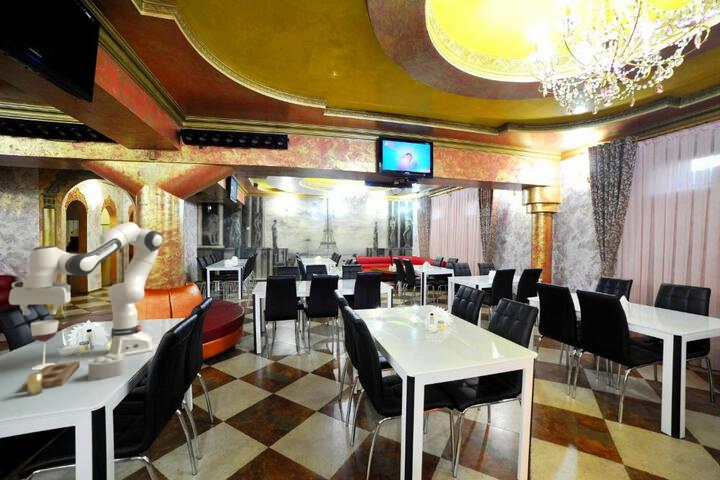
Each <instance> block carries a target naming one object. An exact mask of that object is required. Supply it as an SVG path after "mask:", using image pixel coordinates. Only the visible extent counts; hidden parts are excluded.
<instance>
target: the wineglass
mask: <svg viewBox="0 0 720 480" xmlns="http://www.w3.org/2000/svg"><path fill="white" fill-rule="evenodd" d="M58 327H59V320H58V319H48V320H40V321H35V322H31V323H30V331H31V335H32V339H34V340H35V341H39V342H42V363H40V364H37V365H35V366H33V367H31V370H33V371H36V370H37V371H38V370H42V369H43V368H44V367H45V366H49V365H56V363H55V362H47V363H46V342H47V341H49V340H50V339H53V338H54V337H55V336H56V335H57V332H58Z"/></svg>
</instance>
